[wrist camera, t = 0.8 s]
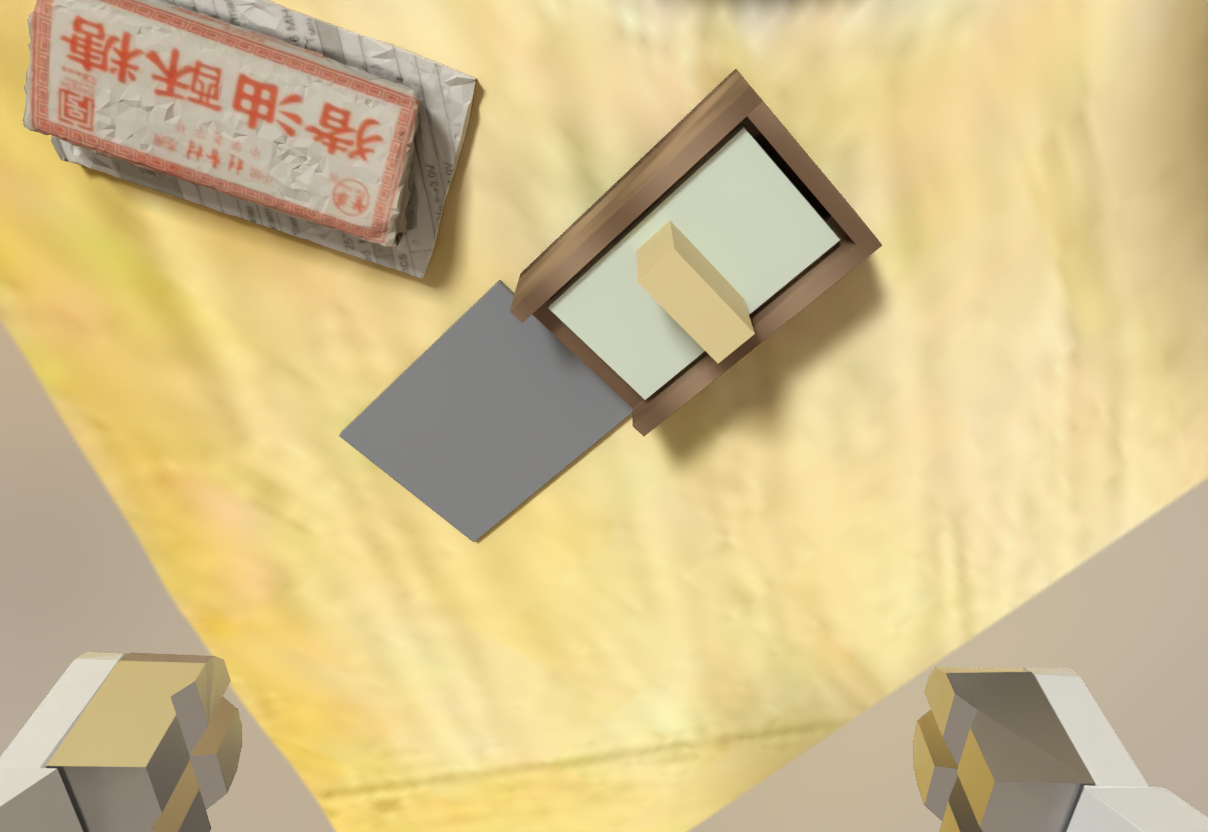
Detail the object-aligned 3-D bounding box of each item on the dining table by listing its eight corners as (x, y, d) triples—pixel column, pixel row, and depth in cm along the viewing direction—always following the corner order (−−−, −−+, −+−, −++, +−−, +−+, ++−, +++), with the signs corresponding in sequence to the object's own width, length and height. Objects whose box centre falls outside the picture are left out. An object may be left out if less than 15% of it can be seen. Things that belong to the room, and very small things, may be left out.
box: (735, 68, 39) (749, 86, 35) (855, 212, 43) (882, 245, 38) (520, 273, 44) (509, 311, 40) (642, 389, 47) (643, 436, 43)
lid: (741, 123, 37) (756, 149, 33) (836, 234, 39) (861, 271, 35) (548, 301, 41) (540, 343, 37) (644, 392, 43) (646, 442, 39)
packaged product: (3, 174, 38) (7, -75, 33) (65, 150, 42) (77, -75, 38) (411, 306, 41) (466, 91, 36) (431, 270, 45) (483, 74, 40)
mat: (499, 279, 45) (498, 282, 44) (634, 406, 48) (634, 409, 48) (341, 432, 49) (339, 435, 49) (474, 538, 52) (473, 542, 52)
